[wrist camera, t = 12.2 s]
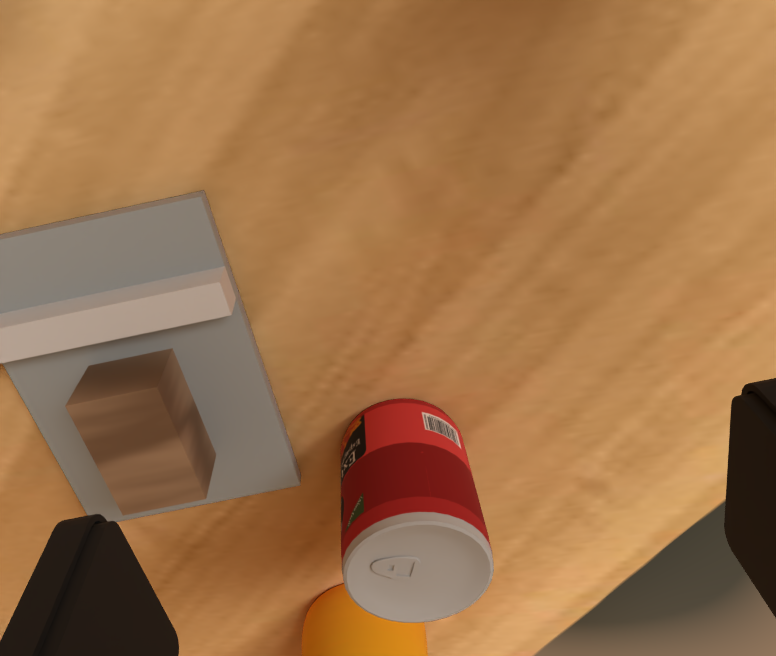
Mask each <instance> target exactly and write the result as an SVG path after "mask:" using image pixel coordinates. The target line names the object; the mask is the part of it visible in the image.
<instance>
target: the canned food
mask: <svg viewBox="0 0 776 656" xmlns="http://www.w3.org/2000/svg"><path fill="white" fill-rule="evenodd" d="M341 557H342V573H343V580H344V584H345V589H346V590H347V592H348V594H349V596H350V598H351V599H352V600H353V601H354V602H355V603H356V604H357V605H358V606H359V607H361V608H362V609H363V610H365V611H366V612H368V613H370V614H372V615H375V616H377V617H379V618H383V619H386V620H390V621H396V622H403V623H421V622H430V621H435V620H439V619H443V618H447V617H449V616H452V615H454V614H457V613H459V612H461V611H462V610H464V609H466V608H468V607H469V606H471V605H472V604H473V603H474V602H476V601H477V600H478V599H479V598H480V597H481V596H482V595H483V593H484V592H485V591H486V590H487V588H488V586H489V584H490V582H491V580H492V576H493V571H494V568H493V558H492V550H491V546H490V542H489V536H488V533H487V529H486V525H485V522H484V518H483V514H482V510H481V507H480V503H479V499H478V495H477V492H476V488H475V484H474V480H473V477H472V473H471V469H470V465H469V462H468V458H467V454H466V450H465V447H464V443H463V439H462V436H461V434H460V431H459V429H458V428H457V426H456V425H455V423H454V422H453V421H452V420H451V419H450V417H449V416H447V415H446V414H445V413H444V412H443V411H442V410H441V409H439V408H437V407H436V406H434V405H432V404H429V403H427V402H424V401H420V400H415V399H393V400H387V401H384V402H380V403H377V404H375V405H373V406H371V407H369V408H367V409H366V410H364V411H363V412H361V413H360V414H359V415H358V416H357V417H356V418H355V419H354V420H353V421H352V423H351V424H350V426H349V427H348V429H347V431H346V433H345V435H344V438H343V441H342V444H341Z"/></svg>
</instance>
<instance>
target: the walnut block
mask: <svg viewBox="0 0 776 656" xmlns="http://www.w3.org/2000/svg"><path fill="white" fill-rule="evenodd" d="M65 407H66V409H67V411H68V413H69V415H70V416H71V418H72V420H73V422H74V424H75V426H76V428H77V430H78V432H79V433H80V435H81V437H82V439H83V441H84V443H85V445H86V447H87V449H88V451H89V452H90V454H91V456H92V458H93V460H94V462H95V464H96V466H97V468H98V469H99V471H100V473H101V475H102V477H103V479H104V481H105V483H106V485H107V487H108V488H109V490H110V492H111V494H112V496H113V498H114V500H115V502H116V504H117V505H118V507H119V509H120V511H121V513H122V515H123V516H124V515H129V514H134V513H139V512H144V511H149V510H154V509H159V508H164V507H169V506H174V505H179V504H184V503H189V502H194V501H199V500H204V499H206V498H207V494H208V489H209V485H210V481H211V476H212V472H213V467H214V463H215V459H216V452H215V450H214V448H213V445H212V443H211V440H210V438H209V435H208V433H207V431H206V428H205V426H204V423H203V421H202V419H201V416H200V414H199V411H198V409H197V406H196V404H195V402H194V399H193V397H192V394H191V392H190V389H189V387H188V385H187V382H186V380H185V377H184V375H183V372H182V370H181V368H180V365H179V363H178V360H177V358H176V355H175V353H174V351H173V348H171V349H166V350H162V351H157V352H152V353H147V354H142V355H138V356H133V357H128V358H123V359H118V360H114V361H109V362H104V363H99V364H94V365H90V366H88V367H87V369H86V371H85V373H84V374H83V376H82V378H81V380H80V381H79V383H78V385H77V386H76V388H75V390H74V392H73V393H72V395H71V397H70V399H69V400H68V402H67V404H66V405H65Z"/></svg>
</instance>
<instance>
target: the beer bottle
mask: <svg viewBox="0 0 776 656" xmlns="http://www.w3.org/2000/svg"><path fill="white" fill-rule="evenodd" d="M302 656H428V653H427V641H426V632H425V626H424V622H421V623H403V622H396V621H390V620H386V619H383V618H379V617H377V616H375V615H372V614H370V613H368V612H366V611H365V610H363V609H362V608H361V607H359V606H358V605H357V604H356V603H355V602H354V601H353V600H352V599H351V598H350V596H349V594H348V592H347V590H346V589H345V584H341V585H338V586H336V587H334V588H332V589H330V590H328V591H326V592H325V593H324V594H322V595H321V596H320V597H318V598H317V600H316V601H315V602H314V603H313V604H312V606H311V607H310V609H309V611H308V612H307V615H306V619H305V622H304V626H303V631H302Z"/></svg>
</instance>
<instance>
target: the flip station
mask: <svg viewBox="0 0 776 656" xmlns="http://www.w3.org/2000/svg"><path fill="white" fill-rule="evenodd" d="M171 348H173V351H174V353H175V355H176V358H177V360H178V363H179V365H180V368H181V370H182V372H183V375H184V377H185V380H186V382H187V385H188V387H189V389H190V392H191V394H192V397H193V399H194V402H195V404H196V406H197V409H198V411H199V414H200V416H201V419H202V421H203V423H204V426H205V428H206V431H207V433H208V435H209V438H210V440H211V443H212V445H213V448H214V450H215V452H216V459H215V463H214V467H213V472H212V476H211V481H210V485H209V489H208V494H207V498H206V499H204V500H199V501H194V502H189V503H184V504H179V505H174V506H169V507H164V508H159V509H154V510H149V511H144V512H139V513H134V514H129V515H124V516H123V515H122V513H121V511H120V509H119V507H118V505H117V504H116V502H115V500H114V498H113V496H112V494H111V492H110V490H109V488H108V487H107V485H106V483H105V481H104V479H103V477H102V475H101V473H100V471H99V469H98V468H97V466H96V464H95V462H94V460H93V458H92V456H91V454H90V452H89V451H88V449H87V447H86V445H85V443H84V441H83V439H82V437H81V435H80V433H79V432H78V430H77V428H76V426H75V424H74V422H73V420H72V418H71V416H70V415H69V413H68V411H67V409H66V407H65V405H66V404H67V402H68V400H69V399H70V397H71V395H72V393H73V392H74V390H75V388H76V386H77V385H78V383H79V381H80V380H81V378H82V376H83V374H84V373H85V371H86V369H87V367H88V366H90V365H94V364H99V363H104V362H109V361H114V360H118V359H123V358H128V357H133V356H138V355H142V354H147V353H152V352H157V351H162V350H166V349H171ZM1 363H2V364H3V366H4V367H5V369H6V371H7V373H8V374H9V376H10V378H11V380H12V382H13V383H14V385H15V387H16V389H17V390H18V392H19V394H20V396H21V398H22V399H23V401H24V403H25V405H26V407H27V408H28V410H29V412H30V414H31V415H32V417H33V419H34V421H35V423H36V424H37V426H38V428H39V430H40V431H41V433H42V435H43V437H44V439H45V440H46V442H47V444H48V446H49V448H50V449H51V451H52V453H53V455H54V456H55V458H56V460H57V462H58V464H59V465H60V467H61V469H62V471H63V472H64V474H65V476H66V478H67V480H68V481H69V483H70V485H71V487H72V489H73V490H74V492H75V494H76V496H77V497H78V499H79V501H80V503H81V505H82V506H83V508H84V510H85V512H86V513H87V515H88V516H89V515H94V514H101V515H102V516H104V517H105V519H106V520H107V521H115V522H119V521H124V520H129V519H134V518H139V517H144V516H149V515H154V514H159V513H164V512H169V511H174V510H179V509H184V508H189V507H194V506H199V505H204V504H209V503H214V502H219V501H224V500H229V499H234V498H239V497H244V496H249V495H254V494H260V493H265V492H270V491H275V490H280V489H285V488H290V487H295V486H300V483H301V474H300V471H299V468H298V465H297V462H296V459H295V456H294V453H293V450H292V447H291V444H290V441H289V438H288V435H287V433H286V430H285V427H284V424H283V421H282V418H281V415H280V412H279V409H278V406H277V403H276V400H275V397H274V394H273V391H272V388H271V386H270V383H269V380H268V377H267V374H266V371H265V368H264V365H263V362H262V359H261V356H260V353H259V350H258V347H257V344H256V341H255V338H254V336H253V333H252V330H251V327H250V324H249V321H248V318H247V315H246V312H245V309H244V306H243V303H242V300H241V297H240V294H239V291H238V289H237V286H236V283H235V280H234V277H233V274H232V271H231V268H230V265H229V262H228V259H227V256H226V253H225V250H224V247H223V244H222V242H221V239H220V236H219V233H218V230H217V227H216V224H215V221H214V218H213V215H212V212H211V209H210V206H209V203H208V200H207V197H206V195H205V192H204V190H203V191H199V192H194V193H190V194H185V195H180V196H176V197H171V198H166V199H162V200H157V201H153V202H148V203H143V204H139V205H134V206H129V207H125V208H120V209H116V210H111V211H106V212H102V213H97V214H92V215H88V216H83V217H78V218H74V219H69V220H65V221H60V222H55V223H51V224H46V225H41V226H37V227H32V228H28V229H23V230H18V231H14V232H9V233H4V234H0V364H1Z"/></svg>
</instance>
